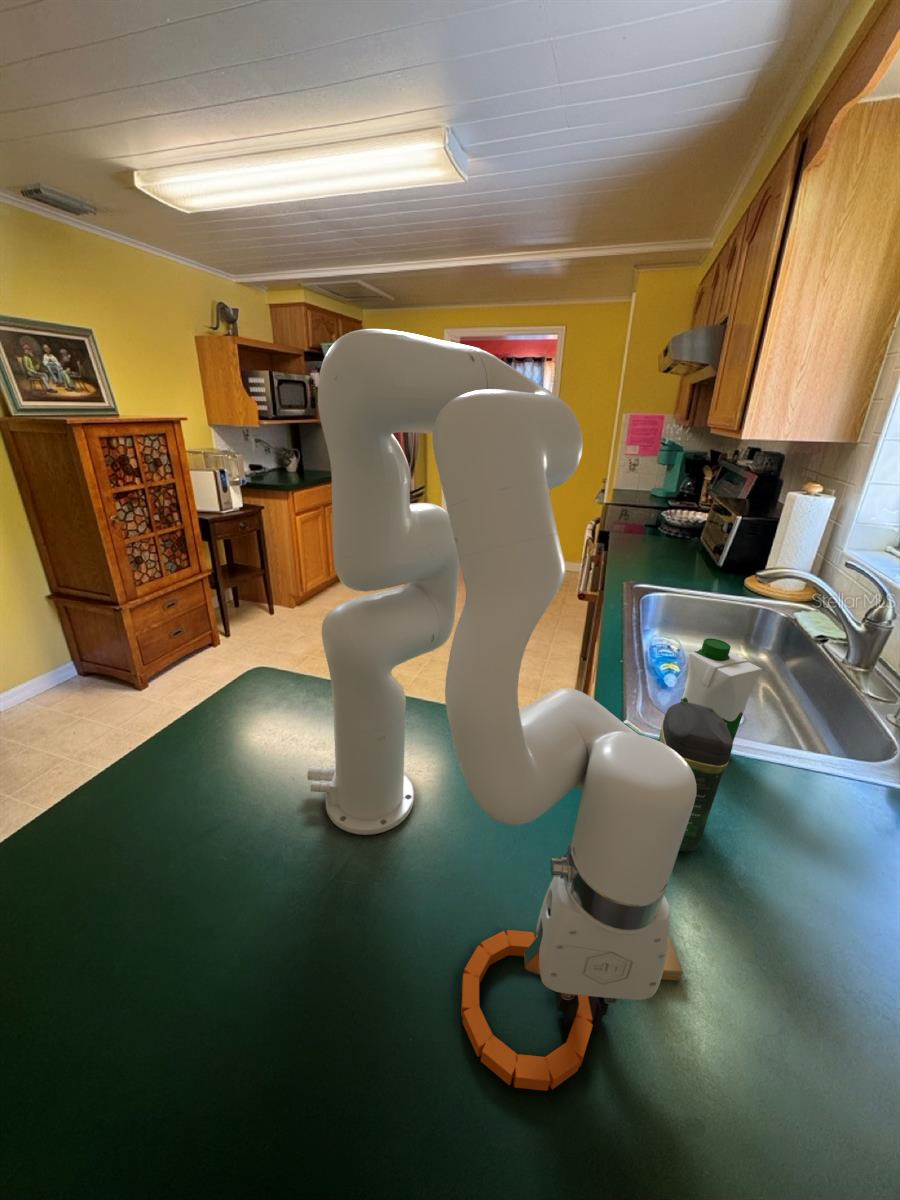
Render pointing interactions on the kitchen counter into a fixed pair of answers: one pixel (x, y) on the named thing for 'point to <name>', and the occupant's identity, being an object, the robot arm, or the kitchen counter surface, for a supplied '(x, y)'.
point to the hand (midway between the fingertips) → (578, 1010)
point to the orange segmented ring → (493, 1051)
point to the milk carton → (720, 681)
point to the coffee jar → (698, 758)
